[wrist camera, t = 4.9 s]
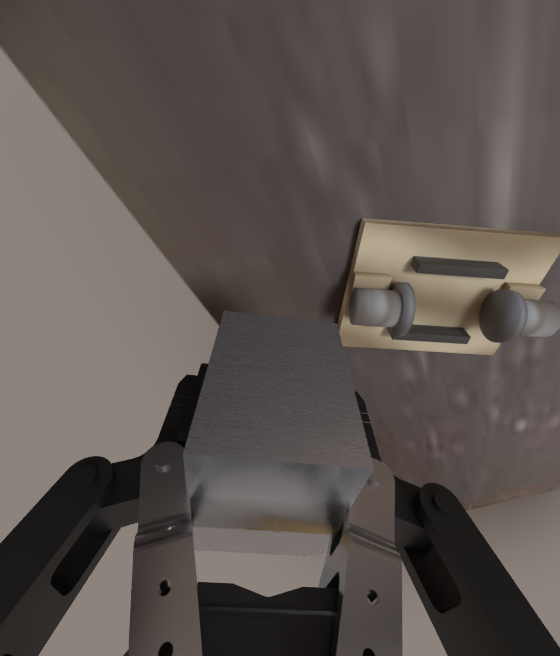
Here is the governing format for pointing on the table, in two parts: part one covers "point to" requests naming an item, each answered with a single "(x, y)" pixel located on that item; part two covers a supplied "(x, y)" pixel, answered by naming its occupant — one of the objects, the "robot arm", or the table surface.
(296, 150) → the table surface
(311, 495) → the block
